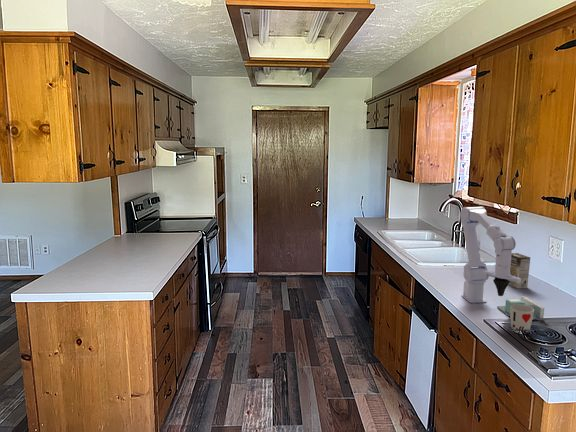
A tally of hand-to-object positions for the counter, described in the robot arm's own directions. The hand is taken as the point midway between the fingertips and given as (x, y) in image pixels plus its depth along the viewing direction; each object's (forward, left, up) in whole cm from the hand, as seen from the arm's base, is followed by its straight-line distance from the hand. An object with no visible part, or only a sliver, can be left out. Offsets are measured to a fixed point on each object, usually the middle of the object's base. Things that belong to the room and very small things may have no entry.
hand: (500, 295), depth 183 cm
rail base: (0, +9, -9) cm, 13 cm away
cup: (+17, -1, -9) cm, 19 cm away
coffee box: (-36, +29, -9) cm, 47 cm away
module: (0, +7, -8) cm, 10 cm away
